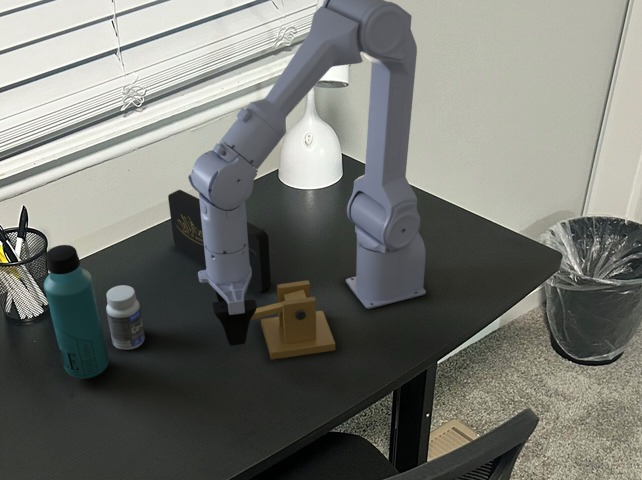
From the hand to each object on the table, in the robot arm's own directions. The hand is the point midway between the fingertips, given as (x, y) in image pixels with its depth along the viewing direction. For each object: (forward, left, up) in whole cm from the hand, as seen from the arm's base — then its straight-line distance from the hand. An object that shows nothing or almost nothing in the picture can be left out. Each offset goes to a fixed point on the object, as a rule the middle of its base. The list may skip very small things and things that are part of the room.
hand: (233, 326), depth 127 cm
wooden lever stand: (-9, +1, -4) cm, 10 cm away
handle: (-5, +1, +1) cm, 5 cm away
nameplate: (-4, -20, -4) cm, 21 cm away
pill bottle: (+14, -8, -4) cm, 16 cm away
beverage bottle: (+21, -3, -4) cm, 21 cm away
